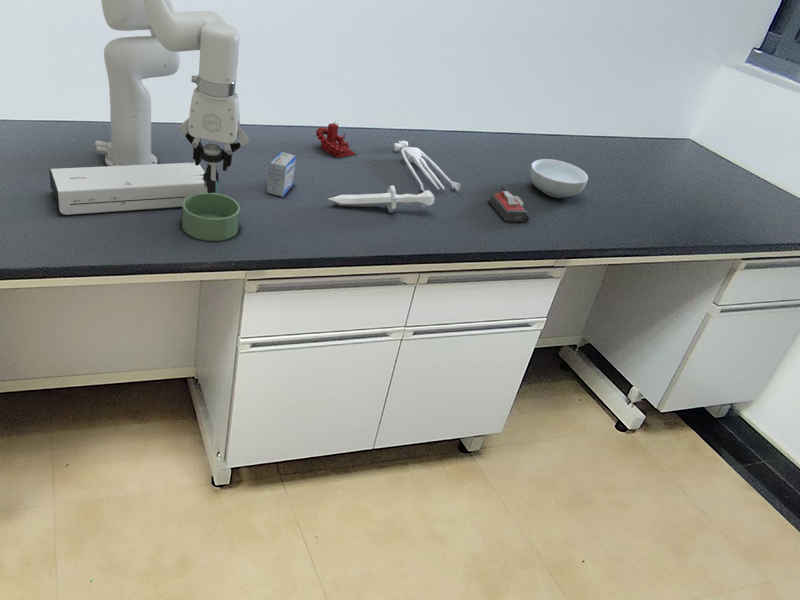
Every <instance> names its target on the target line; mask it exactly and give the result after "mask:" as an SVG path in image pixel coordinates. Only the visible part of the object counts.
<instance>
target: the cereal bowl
mask: <svg viewBox="0 0 800 600" xmlns="http://www.w3.org/2000/svg"><path fill="white" fill-rule="evenodd" d="M529 178H530V181H531V182H532V184H533V186H534V187H536V188H537V189H538V190H540V191H541V193H543V194H544V195H546V196H549V197H552V198H556V199H564V198H566V197H568V198H569V197H574V196H577V195H579V194H580V193H581V192H583V191H584V189H585V188H586V185H587V183H588V180H589V176H588V173H586V172H585V171H584V170H583V169H581V168H580V167H578V166H577V165H575V164H572V163H569V162H565V161H563V160H558V159H551V158H542V159H536V160H534V161H533V162H531V165H530V170H529Z"/></svg>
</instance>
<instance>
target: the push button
mask: <svg viewBox="0 0 800 600" xmlns="http://www.w3.org/2000/svg"><path fill="white" fill-rule="evenodd" d="M225 151H226V150H224V148H221V145H219V144H217V143H206V144H205V145H203V146H202V148H201V149H200V154H201V159H202V161H204V162H206V163H207V165H206V167H205V169H206V170H205V173H204V174H203V180H204V188H205V185H206V187H207V192H208V193H217V194H219V177H220V175H219V172H218V170H217V164H218V163H220V162H223V157H224V153H225Z"/></svg>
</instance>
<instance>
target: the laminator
mask: <svg viewBox="0 0 800 600" xmlns="http://www.w3.org/2000/svg"><path fill="white" fill-rule="evenodd" d="M203 167H204V166H203V165H202V164H201V163H200V164H199V165H198V166H197V165H195V162H176V163H173V162H172V163H157V164H150V165H127V166H107V165H106V166H86V167H85V166H84V167H82V166H81V167H63V168H49V170H48V171H49V183H50V189H51V191H52V193H53V196H54V199H55V202H56V205H57V210H58V212H59V214H60V215H62V216H78V215H79V216H80V215H95V214H107V213H122V212H136V211H137V212H138V211H150V210H152V211H153V210H163V209H164V210H165V209H178V208H182V203H183V201H184V199H186V198H187V197H189V196H191V195H194V194H198V193H208V192H207V187H206V185H205V188H204V180H203V174H204V173H205V172H206V170H205V169H204V168H203Z"/></svg>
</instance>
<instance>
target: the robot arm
mask: <svg viewBox="0 0 800 600" xmlns="http://www.w3.org/2000/svg"><path fill="white" fill-rule="evenodd" d="M100 1H101V2H100V3H101V7H102V8H101V9H102V13H103V17H104V20H105V22H106V24H107V26H108V27H109V28H110V29H112V30H114V31H120V32H132V31H149V33H150V35H143V36H141V35H138V36H125V37H118V38H117V37H116V38H115V39H112V40H110V41H109V42H108V43H106V45H105V46H104V49H103V60H104V65H105V69H106V74H107V80H108V89H109V90H108V91H109V110H110V111H109V113H110V114H109V115H110V116H109V117H110V118H109V119H110V141H108V142H105V141H103V140H95V141H94V148H95V149H96V152H97V153H103V154H105V156H104V163H105V165H106V166H127V165H150V164H158V158H157V156H156V155H155V154H153V153H152V96H151V94H150V92H149V90H148V89H147V87H146V86H144V84H143V80H146V79H147V80H148V79H152V78H161V77H168V76H169V77H170V76H173V75H174V74H176V73H177V72H178V70H179V69H180V64H181V55H180V54H181V53H180V52H192V51H193V52H194V51H199V64H198V75H192V76H191V78H190V81H191V83H194V84H196V88H194V89H193V92H192V97H191V101H190V106H189V107H190V108H189V115H188V118H187V119H185V120H184V121H183V122H182V123H180V125H179V126H178V131H179V132H180V133H181V134H182V135H183V136H185V138H186V140H187V141H188V142H189V143H190V144H191V147H192V148H193V151H192V160H194V163H195V165H197V166H198V165H199V164H201V162H202V161H203V159H201V154H200V149H201V148H202V147H204V145H203V143H202V140H205V141H209V142H215V143H220V144H223V145H224V149H225V150H224V151H225V153H224V157H223V160H222V171H224V172H226V171H227V170H228V168H229V167H232V161H233V154H234V152H236V151H237V150H240V148H243V146H246V145H247V144H248V143H249V142H250V138H249V137H248V134H247V133H246V132H245V131H244V129H243V128H242V127H241V125H240V123H241V115H240V111H241V110H240V99H239V94H238V93H237V92H236V87H237V76H238V65H239V64H238V62H239V52H240V49H239V48H240V32H239V30H238V29H237V28H236V27H235V26H233V25H230V24H229V23H227V22H226V21H225V19H224V18H223V17H222V16H221V15H220V14H219V13H217V12H216V11H210V10H201V11H198V10H197V11H196V10H195V11H174V6H173V3H172V1H171V0H100ZM237 138H239V140H237Z"/></svg>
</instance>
